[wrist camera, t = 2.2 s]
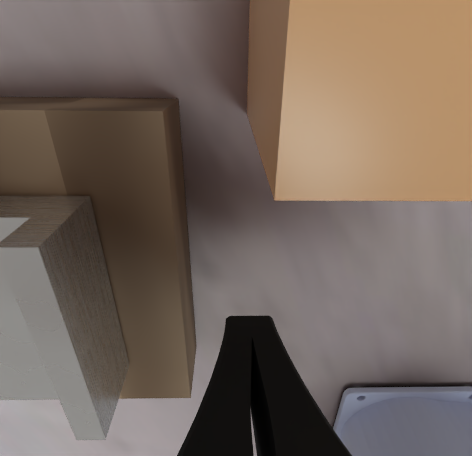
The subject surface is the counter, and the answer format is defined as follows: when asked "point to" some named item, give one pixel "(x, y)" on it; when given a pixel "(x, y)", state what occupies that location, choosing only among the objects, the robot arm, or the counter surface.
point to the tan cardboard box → (362, 98)
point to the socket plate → (119, 215)
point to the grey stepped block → (59, 311)
